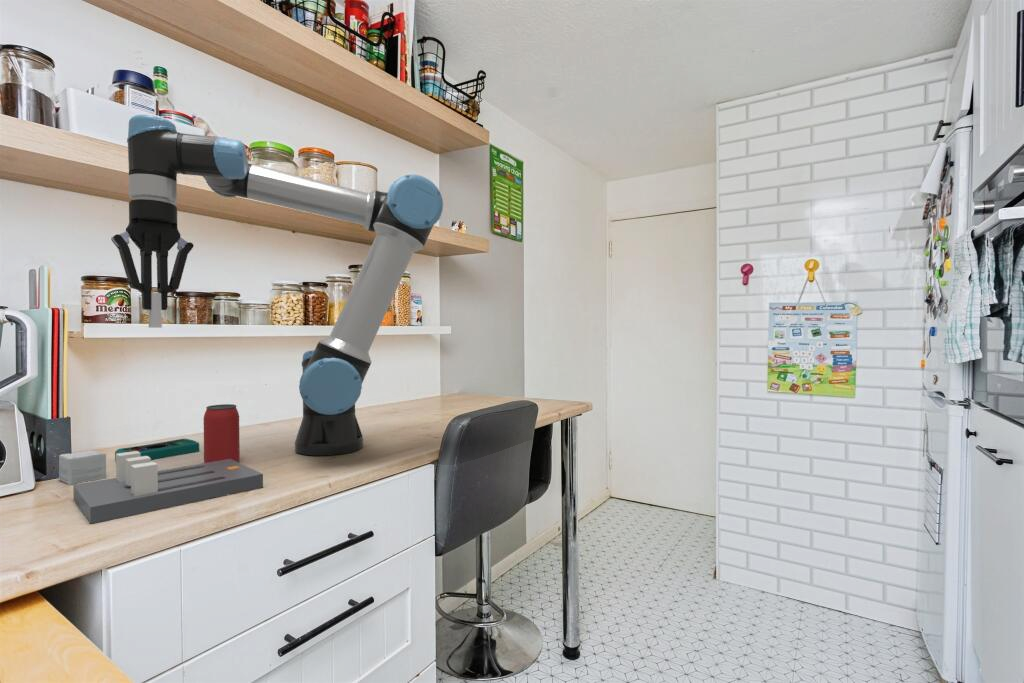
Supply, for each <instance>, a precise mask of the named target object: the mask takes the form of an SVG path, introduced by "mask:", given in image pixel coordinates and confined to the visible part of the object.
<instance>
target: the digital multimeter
mask: <svg viewBox="0 0 1024 683" xmlns="http://www.w3.org/2000/svg"><path fill="white" fill-rule="evenodd" d="M132 451H138V452H140V453H141V457H142V456H148V457H150V458H151V461H153V460H158V459H159V460H160V459H164V458H170V457H171V458H172V457H175V456H182V455H187V454H193V453H198V452H199V451H200V442H198V441H196V440H193V439H189V438H179V439H173V440H168V441H161V442H156V443H149V444H143V445H138V446H137V445H135V446H129V447H122V448H118V449H116V450H115V451H114V460H115V461H116V454H118V453H125V452H132Z"/></svg>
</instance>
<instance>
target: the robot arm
mask: <svg viewBox="0 0 1024 683" xmlns="http://www.w3.org/2000/svg"><path fill="white" fill-rule="evenodd" d="M127 133H128V134H127V139H126V144H127V152H128V153H127V155H128V156H127V158H128V161H127V162H128V197H129V198H130V199H131V200H130V201H129V202H128V225H127V227H125V231H124V232H121V233H120V234H119V233H118V234H115V235H112V236H111V238H110V239H111V242H112V243H113V245H115V246H116V248H117V249H118V252H119V255H120V259H121V262H122V265H123V269H124V273H125V275H126V276H125V277H126V279H127V282H128V285H129V288H130V289H134V290H136V291H139V292H140V293H141V308H142V310H147V311H148V328H151V329H152V328H163V324H162V323H163V322H162V320H163V319H162V311H167V310H168V306H169V305H168V293H170V292H173V291H177V290H179V288H180V285H181V280H182V276H183V273H184V269H185V265H186V262H187V259H188V256H189V255H188V254H189V253H190V252H191V251H192V249H193V248H194V244H193V242H188V241H186V239H184V238H183V237H181V233H180V231H179V228H178V207H177V206H176V205H175V204H177V203H178V185H177V184H178V181H177V177H178V174H181V175H188V176H197V177H203V179H204V180H205V181H206V183H207V185H208V187H209V188H210V189H211V190H212V191H213V192H215V193H216V194H217V195H220V196H222V197H224V198H236V197H239V198H244V199H250V200H254V201H258V202H262V203H266V204H271V205H274V206H275V205H276V206H280V207H283V208H284V207H285V208H288V209H293V210H296V211H300V212H306V213H310V214H313V215H314V214H315V215H319V216H323V217H327V218H332V219H336V220H340V221H344V222H347V223H353V224H357V225H360V226H363V227H364V228H365V230H366V231H369V232H372V233H375V237H374V240H373V242H372V244H371V246H370V248H369V250H368V253H367V254H366V257H365V260H364V261H363V264H362V266H361V268H360V270H359V272H358V274H357V276H356V277H355V281H354V283H353V284H352V287H351V289H350V291H349V294H348V296H347V297H346V299H345V302H344V304H343V307H342V308H341V311H340V313H339V315H338V318H337V319H336V322H335V324H334V326H333V328H332V330H331V333H330V335H329V336H327V337H325V338H322V339H320V340H318V343H317V345H316V346H315V348H314V350H313V349H312V350H307V351H305V352H304V353H303V355H302V361H301V367H302V374H301V376H300V380H299V385H298V386H299V387H298V389H299V394H300V396H301V399H302V419H301V422H300V426H299V429H298V430H297V431H298V432H297V434H296V438H295V441H294V452H295V453H296V454H299V455H302V456H303V455H304V456H333V455H340V454H341V455H342V454H348V453H352V452H355V451H356V452H357V451H358V450H361V449H362V448H363V447H364V438H363V433H362V431H361V428H360V425H359V422H358V418H357V416H356V415H357V414H356V403H357V401H358V400H359V398H360V396H361V393H362V389H363V382H364V380H365V378H366V376H367V373H368V371H369V368H370V367H371V365H372V359H371V356H370V354H369V351H370V349H371V347H372V345H373V343H374V340H375V339H376V335H377V334H378V332H379V329H380V327H381V325H382V323H383V320H384V318H385V316H386V313H387V311H388V309H389V308H390V304H391V303H392V301H393V299H394V296H395V293H396V292H397V289H398V287H399V286H400V283H401V281H402V279H403V276H404V274H405V273H406V270H407V268H408V265H409V263H410V262H411V259H412V257H413V254H414V253H415V252H416V253H417V252H419V251H422V250H424V247H425V244H426V243H427V240H428V238H429V236H430V234H431V232H432V230H433V228H434V225H435V224H436V223H438V221H439V220H440V219H441V216H442V213H443V207H444V201H443V200H444V199H443V196H442V194H441V191H440V190H439V188H438V187H437V185H436V184H435V183H434V182H433V181H432V180H430V179H429V178H426V177H424V176H422V175H419V174H407V175H406V174H405V175H403V176H401V177H399V178H397V179H396V180H395V181H394V182H392V184H390V186H389V188H388V191H387V192H384V191H379V190H374V189H373V190H372V191H370V192H365V191H361V190H358V189H352V188H350V187H345V186H341V185H339V184H338V185H337V184H333V183H329V182H324V181H320V180H318V179H312V178H309V177H306V176H305V177H304V176H300V175H297V174H293V173H289V172H286V171H285V172H284V171H281V170H278V169H274V168H268V167H266V166H260V165H257V164H252V163H248V156H247V149H246V148H247V147H246V145H245V144H244V142H243V141H241V140H239V139H233V138H228V137H225V136H220V137H217V136H209V135H208V136H207V135H201V134H200V135H199V134H190V133H183V132H178V131H177V127H176V125H175V124H174V123H173V121H171V120H169V119H166V118H164V117H159V116H155V115H152V114H137V115H134V116H132V117H130V119H129V121H128V132H127ZM130 239H131V241H132V242H133V243H134V244H135V246H136V247H137V248H138V249H139V256H140V279H139V277H138V272H137V269H136V265H135V263H134V260H133V259H134V258H133V255H132V252H131V248H130V246H129V244H130V242H131V241H130ZM175 244H177V245H176V248H177V250H178V252H177V254H176V257H175V261H174V263H173V268H172V271H171V275H170V279H169V271H168V270H169V266H168V264H169V262H168V257H169V251H170V250H171V249H172V248H173V247H174V246H175ZM153 252H154V253H155V257H156V284H157V286H156V289H157V292H152V290H153V273H152V271H153V269H152V267H153V266H152V263H153V261H152V259H153V258H152V256H153Z"/></svg>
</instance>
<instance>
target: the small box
mask: <svg viewBox="0 0 1024 683" xmlns="http://www.w3.org/2000/svg"><path fill="white" fill-rule="evenodd" d="M70 453H71V454H70ZM70 453H62V454H59V456H58V480H59V481H61V482H63V483H65V484H67V485H69V486H73V485H75V484H78V483H79V484H81V483H83V482H84V483H87V482H88V481H89V482H94V481H100V480H106V479H107V453H105V452H103V451H99V450H96V449H92V450H91V449H90V450H85V451H84V450H83V451H77V452H70Z"/></svg>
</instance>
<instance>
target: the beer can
mask: <svg viewBox="0 0 1024 683" xmlns="http://www.w3.org/2000/svg"><path fill="white" fill-rule="evenodd" d="M240 455H241V454H240V414H239V411H238V409H237V405H236V404H234V403H233V404H229V403H227V404H213V405H208V406H206V410H205V412H204V415H203V463H208V462H214V461H220V460H226V459H232V460H234V461H236V462H238V461H239V460H240V457H241V456H240Z"/></svg>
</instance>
